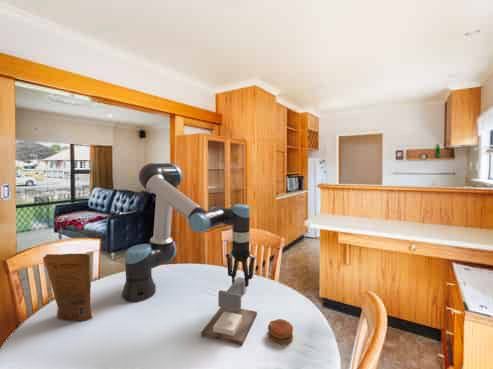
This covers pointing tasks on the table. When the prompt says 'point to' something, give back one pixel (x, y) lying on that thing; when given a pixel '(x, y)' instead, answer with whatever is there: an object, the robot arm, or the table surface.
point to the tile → (227, 323)
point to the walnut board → (241, 331)
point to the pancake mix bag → (70, 285)
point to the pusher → (232, 296)
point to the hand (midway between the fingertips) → (240, 292)
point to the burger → (280, 331)
